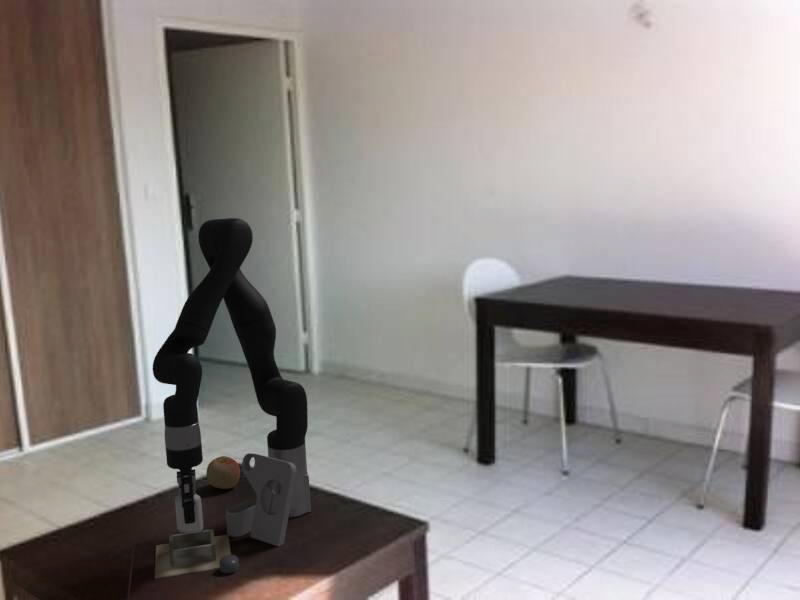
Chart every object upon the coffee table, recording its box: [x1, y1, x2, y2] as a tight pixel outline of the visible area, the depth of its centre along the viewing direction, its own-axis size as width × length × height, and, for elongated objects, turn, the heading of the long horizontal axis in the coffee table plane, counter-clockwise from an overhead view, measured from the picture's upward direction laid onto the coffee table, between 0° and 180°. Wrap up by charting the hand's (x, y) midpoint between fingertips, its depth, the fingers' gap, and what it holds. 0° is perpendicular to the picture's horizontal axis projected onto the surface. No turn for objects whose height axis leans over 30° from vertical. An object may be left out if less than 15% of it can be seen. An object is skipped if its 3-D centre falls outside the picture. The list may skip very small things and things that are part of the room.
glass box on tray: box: [154, 528, 232, 580], centre depth 183 cm, size 16×16×4 cm
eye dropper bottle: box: [174, 493, 204, 534], centre depth 181 cm, size 4×6×12 cm
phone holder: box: [225, 453, 297, 547], centre depth 191 cm, size 17×10×18 cm, turn 53°
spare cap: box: [219, 554, 240, 575], centre depth 176 cm, size 4×4×2 cm
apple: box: [206, 455, 241, 490], centre depth 224 cm, size 9×9×8 cm
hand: (189, 518), depth 182 cm, fingers closed on eye dropper bottle, 4 cm apart
